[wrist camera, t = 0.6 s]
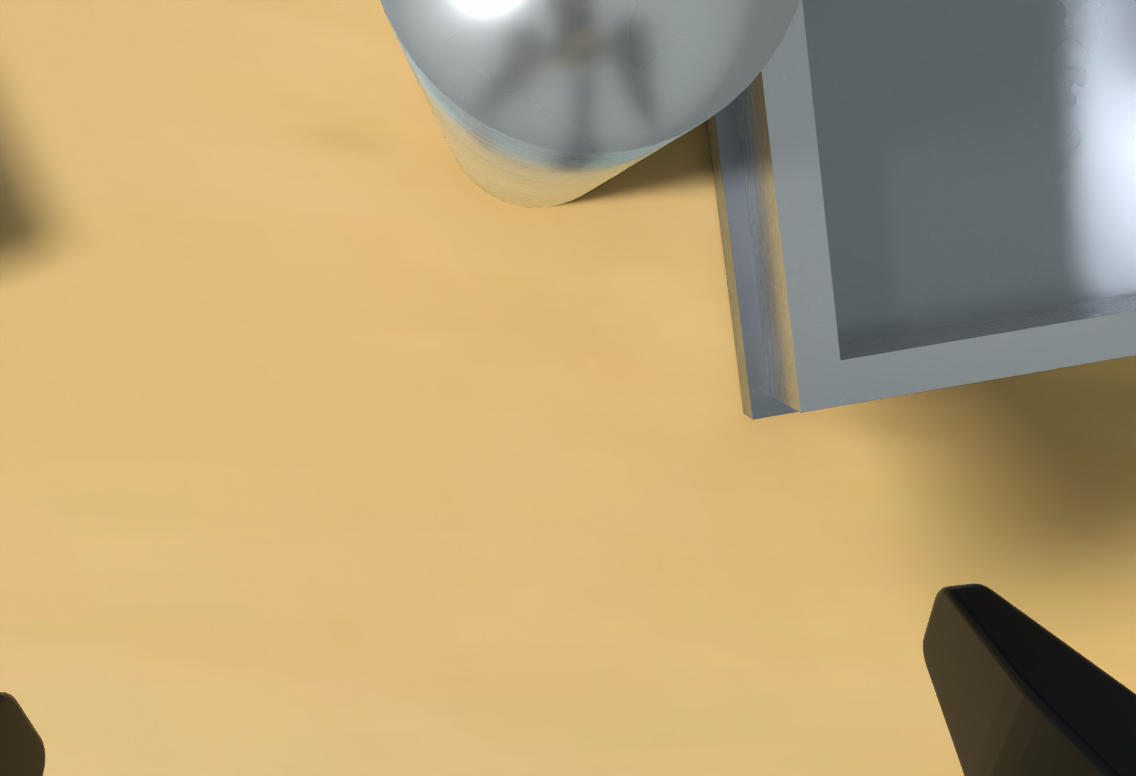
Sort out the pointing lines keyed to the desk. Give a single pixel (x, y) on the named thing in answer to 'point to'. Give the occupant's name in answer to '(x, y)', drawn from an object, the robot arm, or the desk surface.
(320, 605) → the desk surface
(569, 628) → the desk surface
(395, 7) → the silver metal cylinder
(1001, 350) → the square metal tray
